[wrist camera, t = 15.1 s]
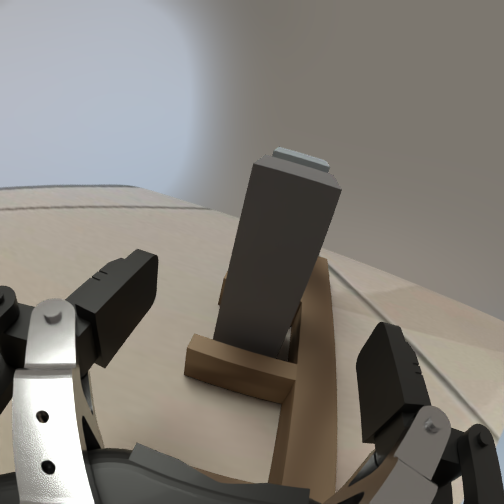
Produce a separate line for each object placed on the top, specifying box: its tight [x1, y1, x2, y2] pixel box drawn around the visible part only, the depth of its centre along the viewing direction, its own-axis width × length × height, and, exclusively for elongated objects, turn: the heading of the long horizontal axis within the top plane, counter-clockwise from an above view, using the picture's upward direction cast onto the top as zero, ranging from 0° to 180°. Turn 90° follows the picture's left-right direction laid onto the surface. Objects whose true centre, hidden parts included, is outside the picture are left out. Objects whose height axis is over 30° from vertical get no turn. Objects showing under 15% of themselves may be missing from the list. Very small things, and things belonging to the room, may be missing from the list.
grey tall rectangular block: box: [213, 155, 342, 359], centre depth 16 cm, size 4×4×12 cm
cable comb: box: [184, 256, 337, 504], centre depth 18 cm, size 8×24×2 cm, turn 169°
